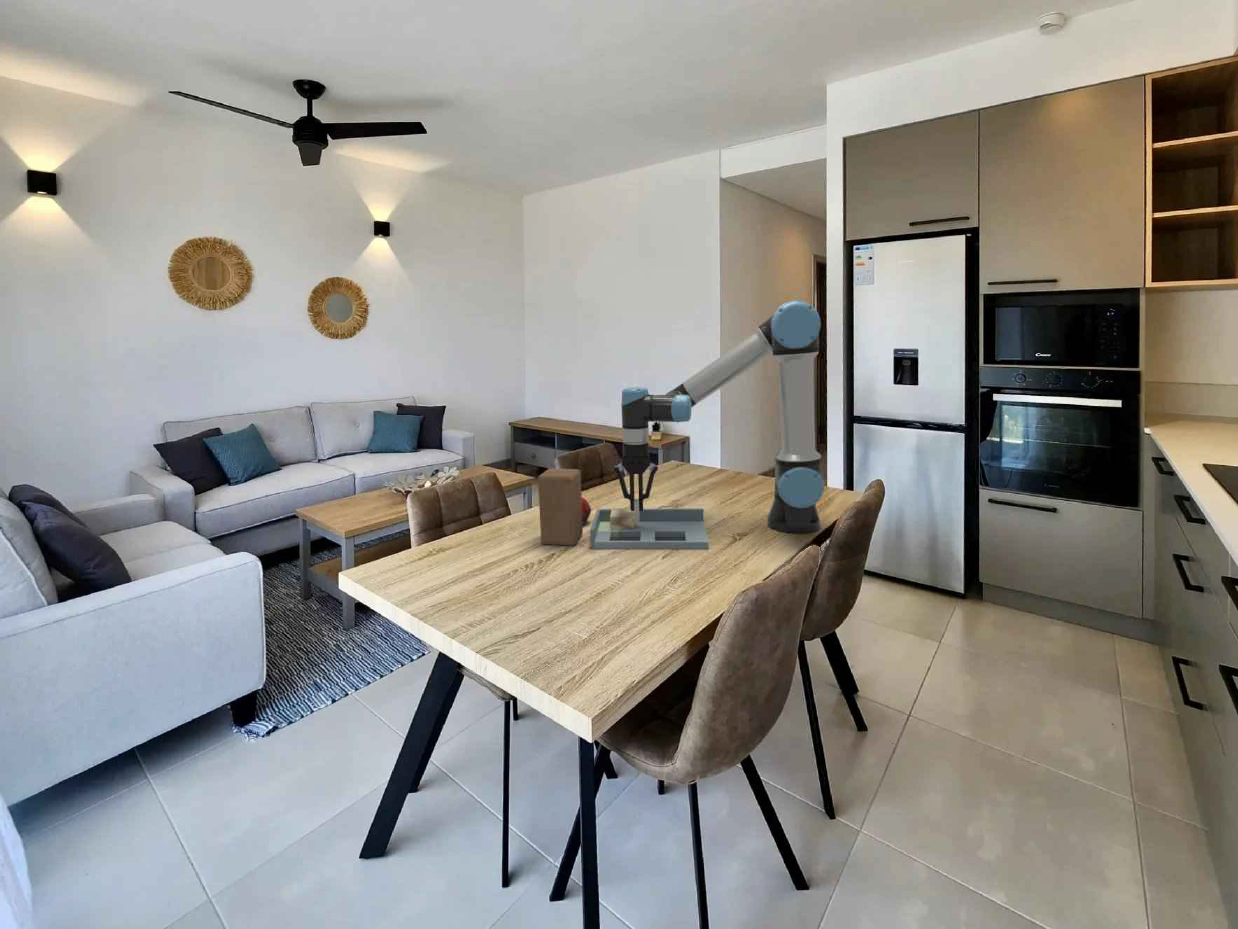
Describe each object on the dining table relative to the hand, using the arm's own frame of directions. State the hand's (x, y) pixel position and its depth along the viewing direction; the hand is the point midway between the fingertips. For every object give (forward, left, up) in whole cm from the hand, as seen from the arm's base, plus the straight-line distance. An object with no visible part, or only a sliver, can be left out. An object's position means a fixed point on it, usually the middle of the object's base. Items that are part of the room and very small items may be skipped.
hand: (637, 521), depth 176 cm
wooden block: (+21, +6, -4) cm, 23 cm away
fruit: (+19, -10, -4) cm, 22 cm away
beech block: (+4, 0, -2) cm, 4 cm away
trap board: (-4, +4, -4) cm, 6 cm away
